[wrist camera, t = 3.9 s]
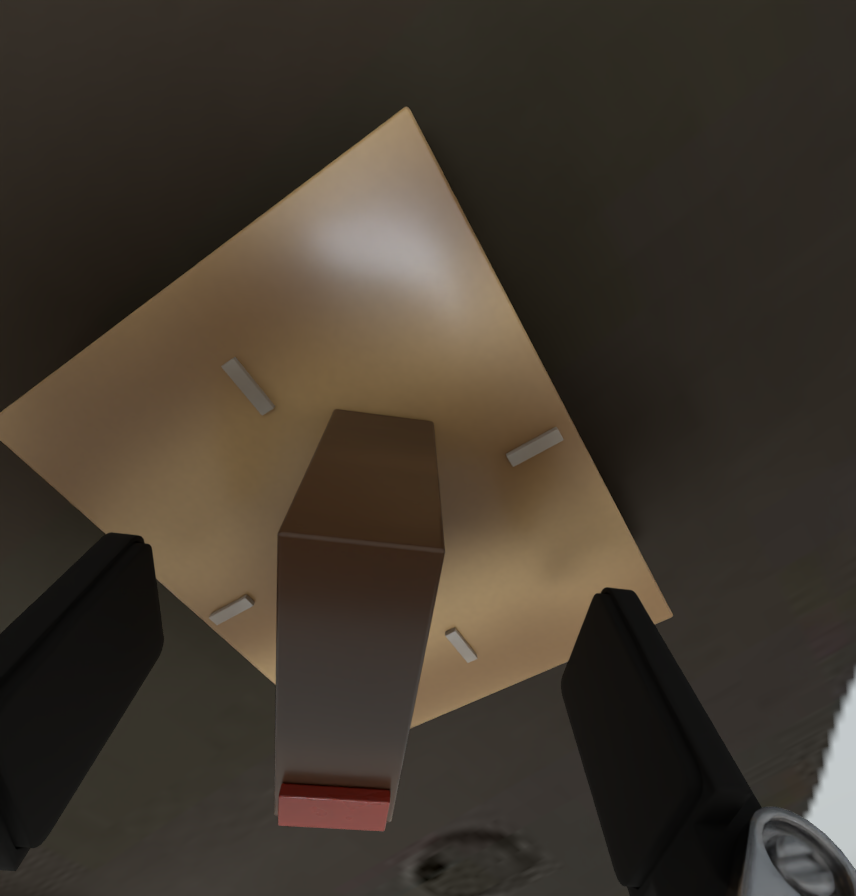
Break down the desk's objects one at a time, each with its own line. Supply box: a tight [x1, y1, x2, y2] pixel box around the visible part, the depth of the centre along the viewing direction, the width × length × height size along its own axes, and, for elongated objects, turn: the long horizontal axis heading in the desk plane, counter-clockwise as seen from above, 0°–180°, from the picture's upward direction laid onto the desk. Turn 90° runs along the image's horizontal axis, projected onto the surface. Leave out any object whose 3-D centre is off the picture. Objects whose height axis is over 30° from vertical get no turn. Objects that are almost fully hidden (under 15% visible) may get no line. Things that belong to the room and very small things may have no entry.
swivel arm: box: [274, 409, 445, 831], centre depth 10 cm, size 7×2×5 cm, turn 172°
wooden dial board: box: [0, 107, 673, 728], centre depth 14 cm, size 15×12×4 cm
